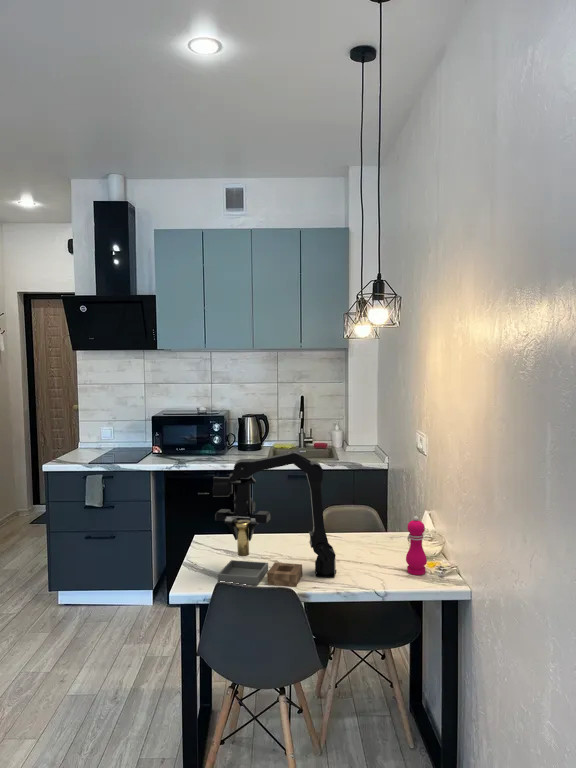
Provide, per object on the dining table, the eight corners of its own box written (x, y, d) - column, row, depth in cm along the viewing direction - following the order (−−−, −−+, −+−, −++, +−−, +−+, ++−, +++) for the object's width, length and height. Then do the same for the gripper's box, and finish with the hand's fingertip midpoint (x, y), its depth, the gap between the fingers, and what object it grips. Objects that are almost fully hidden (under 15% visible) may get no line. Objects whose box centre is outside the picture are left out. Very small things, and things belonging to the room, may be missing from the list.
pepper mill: (424, 568, 199) (423, 513, 199) (429, 575, 192) (428, 518, 191) (404, 568, 199) (403, 513, 199) (408, 576, 192) (407, 519, 192)
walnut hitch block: (302, 575, 194) (302, 564, 194) (296, 586, 184) (296, 575, 184) (274, 573, 196) (274, 562, 196) (267, 584, 187) (267, 572, 186)
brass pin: (253, 552, 195) (252, 520, 195) (248, 557, 190) (248, 524, 190) (238, 551, 197) (237, 519, 196) (233, 556, 191) (232, 523, 191)
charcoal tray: (268, 570, 199) (268, 562, 199) (257, 586, 185) (257, 577, 185) (231, 568, 202) (231, 560, 202) (217, 583, 189) (217, 574, 188)
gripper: (274, 491, 198) (274, 534, 199) (225, 489, 203) (225, 532, 203) (265, 499, 188) (266, 544, 188) (214, 497, 192) (214, 541, 192)
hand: (243, 540), depth 193 cm, fingers closed on brass pin, 5 cm apart
